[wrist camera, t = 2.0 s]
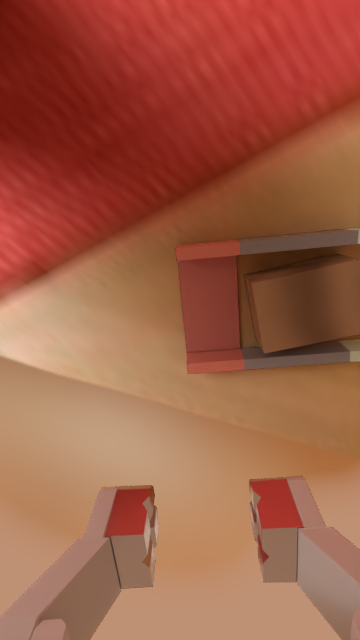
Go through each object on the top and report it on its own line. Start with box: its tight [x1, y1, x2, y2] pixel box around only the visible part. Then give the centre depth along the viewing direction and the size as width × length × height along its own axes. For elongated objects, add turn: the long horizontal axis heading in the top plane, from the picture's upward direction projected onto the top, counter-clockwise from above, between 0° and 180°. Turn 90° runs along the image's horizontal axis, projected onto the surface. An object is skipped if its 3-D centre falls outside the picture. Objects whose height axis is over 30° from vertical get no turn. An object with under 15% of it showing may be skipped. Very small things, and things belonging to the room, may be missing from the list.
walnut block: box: [244, 254, 360, 354], centre depth 28 cm, size 8×6×4 cm
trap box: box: [175, 228, 360, 374], centre depth 28 cm, size 28×11×2 cm, turn 95°
